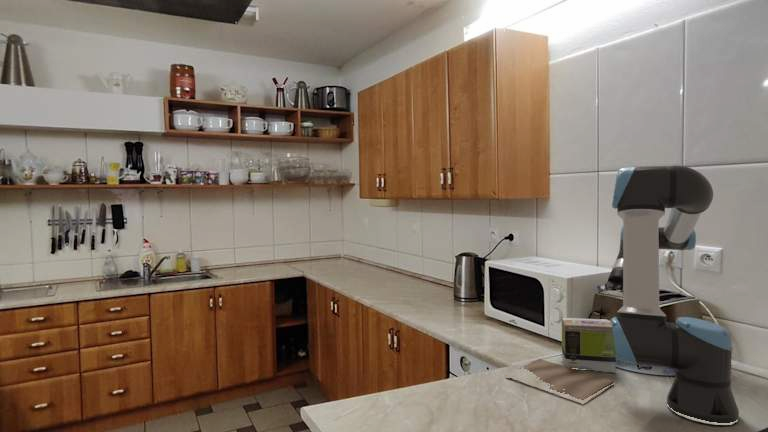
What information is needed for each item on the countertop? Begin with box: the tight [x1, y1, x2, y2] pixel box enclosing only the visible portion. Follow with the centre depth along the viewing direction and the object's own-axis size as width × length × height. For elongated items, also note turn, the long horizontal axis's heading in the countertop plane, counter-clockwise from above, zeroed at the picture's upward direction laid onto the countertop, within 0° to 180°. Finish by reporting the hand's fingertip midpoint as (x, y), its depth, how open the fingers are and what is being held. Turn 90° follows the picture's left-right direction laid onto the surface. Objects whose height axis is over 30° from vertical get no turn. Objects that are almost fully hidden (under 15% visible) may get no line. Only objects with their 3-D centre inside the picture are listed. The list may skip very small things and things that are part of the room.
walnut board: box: [519, 358, 615, 400], centre depth 138 cm, size 24×19×1 cm
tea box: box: [561, 317, 617, 374], centre depth 149 cm, size 15×10×15 cm
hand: (600, 329), depth 155 cm, fingers closed
